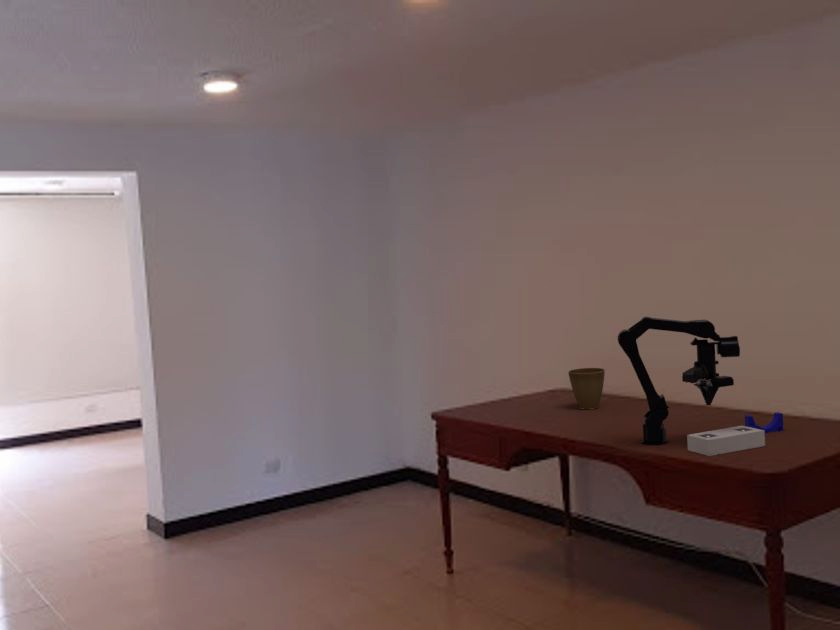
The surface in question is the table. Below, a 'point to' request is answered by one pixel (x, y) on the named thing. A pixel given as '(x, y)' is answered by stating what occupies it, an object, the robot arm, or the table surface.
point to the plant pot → (587, 386)
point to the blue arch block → (772, 427)
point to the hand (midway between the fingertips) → (708, 405)
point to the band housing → (726, 441)
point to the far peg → (743, 429)
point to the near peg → (707, 435)
